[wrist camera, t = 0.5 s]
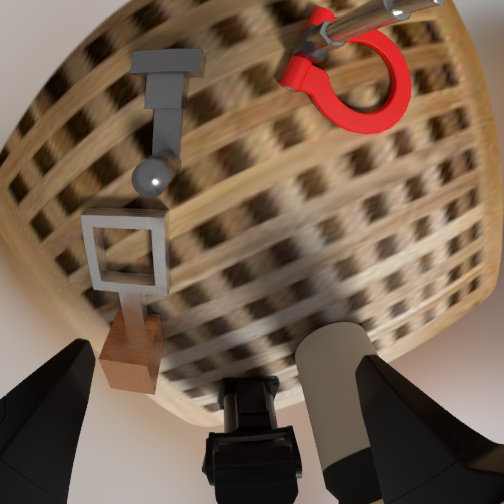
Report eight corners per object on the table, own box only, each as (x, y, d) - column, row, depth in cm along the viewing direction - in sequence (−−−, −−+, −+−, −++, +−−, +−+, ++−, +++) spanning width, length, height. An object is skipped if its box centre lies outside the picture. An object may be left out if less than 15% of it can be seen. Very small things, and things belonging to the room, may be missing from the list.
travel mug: (280, 363, 28) (312, 527, 12) (323, 310, 25) (394, 500, 9) (336, 374, 30) (380, 509, 14) (379, 328, 27) (451, 473, 11)
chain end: (175, 345, 25) (168, 396, 20) (115, 338, 25) (98, 385, 19) (168, 209, 19) (147, 249, 14) (89, 207, 18) (49, 242, 13)
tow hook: (415, 64, 15) (314, 1, 13) (554, 76, 4) (431, -79, 1) (380, 151, 19) (270, 96, 16) (517, 220, 8) (376, 84, 5)
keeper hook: (195, 179, 18) (185, 198, 14) (138, 177, 18) (115, 196, 14) (205, 58, 14) (198, 41, 10) (146, 59, 14) (122, 45, 10)
